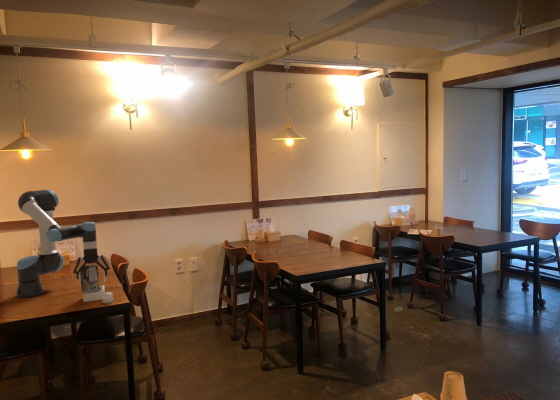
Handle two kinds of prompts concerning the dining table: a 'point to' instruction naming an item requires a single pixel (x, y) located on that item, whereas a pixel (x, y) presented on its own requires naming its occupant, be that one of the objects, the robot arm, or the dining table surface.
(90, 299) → the white open box
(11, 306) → the dining table surface
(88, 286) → the coffee box
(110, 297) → the white rounded block
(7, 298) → the dining table surface
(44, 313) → the dining table surface
